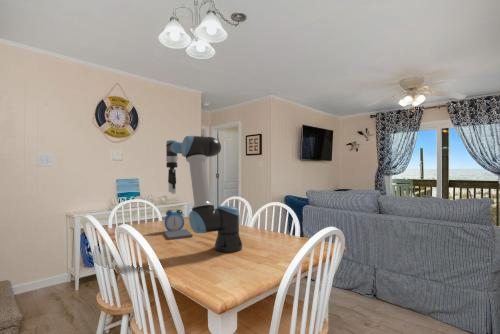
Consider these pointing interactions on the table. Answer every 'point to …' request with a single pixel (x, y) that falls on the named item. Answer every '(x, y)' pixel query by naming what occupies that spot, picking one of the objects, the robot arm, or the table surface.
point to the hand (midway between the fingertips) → (172, 192)
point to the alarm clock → (174, 220)
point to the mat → (177, 234)
